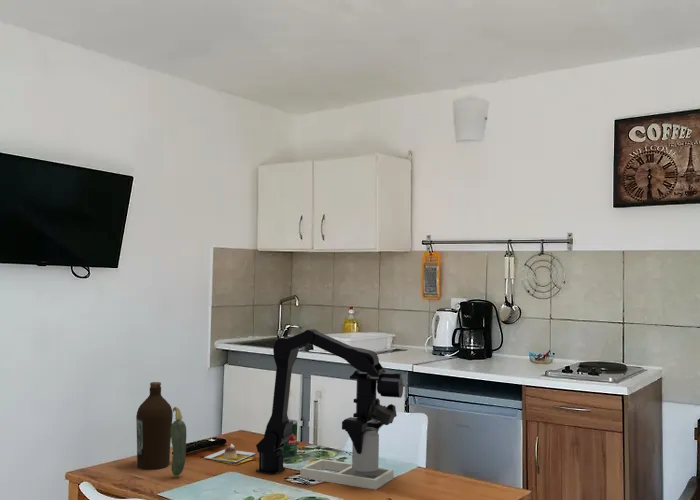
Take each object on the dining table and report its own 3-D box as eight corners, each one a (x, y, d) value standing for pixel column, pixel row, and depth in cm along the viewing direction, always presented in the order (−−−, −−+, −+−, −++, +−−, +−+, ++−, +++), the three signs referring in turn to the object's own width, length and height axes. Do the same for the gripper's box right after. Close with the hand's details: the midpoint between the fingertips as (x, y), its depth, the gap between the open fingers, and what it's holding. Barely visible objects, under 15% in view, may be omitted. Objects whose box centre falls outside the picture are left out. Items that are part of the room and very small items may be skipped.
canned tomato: (295, 459, 212) (296, 424, 212) (271, 458, 212) (271, 423, 213) (298, 453, 220) (298, 419, 220) (274, 452, 220) (274, 419, 220)
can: (379, 468, 193) (379, 426, 193) (377, 475, 185) (378, 431, 186) (353, 466, 193) (353, 425, 194) (350, 474, 186) (351, 430, 187)
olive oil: (168, 460, 209) (170, 379, 210) (173, 468, 199) (175, 384, 201) (133, 463, 205) (135, 381, 206) (136, 472, 195) (139, 386, 197)
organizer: (300, 477, 192) (300, 468, 192) (321, 467, 203) (321, 459, 203) (375, 489, 181) (375, 480, 181) (393, 478, 192) (393, 469, 192)
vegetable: (188, 476, 191) (190, 406, 192) (179, 480, 187) (181, 408, 188) (174, 475, 193) (176, 405, 194) (166, 478, 189) (168, 407, 190)
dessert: (203, 461, 211) (203, 445, 211) (224, 452, 222) (225, 437, 222) (235, 465, 206) (236, 449, 206) (256, 456, 217) (256, 441, 217)
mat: (341, 482, 187) (341, 481, 187) (356, 474, 196) (356, 473, 196) (373, 487, 183) (373, 486, 183) (387, 479, 191) (387, 478, 191)
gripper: (378, 402, 178) (377, 462, 178) (405, 393, 195) (404, 447, 194) (341, 398, 184) (340, 456, 183) (370, 390, 200) (369, 442, 199)
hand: (365, 450), depth 190 cm, fingers closed on can, 7 cm apart
